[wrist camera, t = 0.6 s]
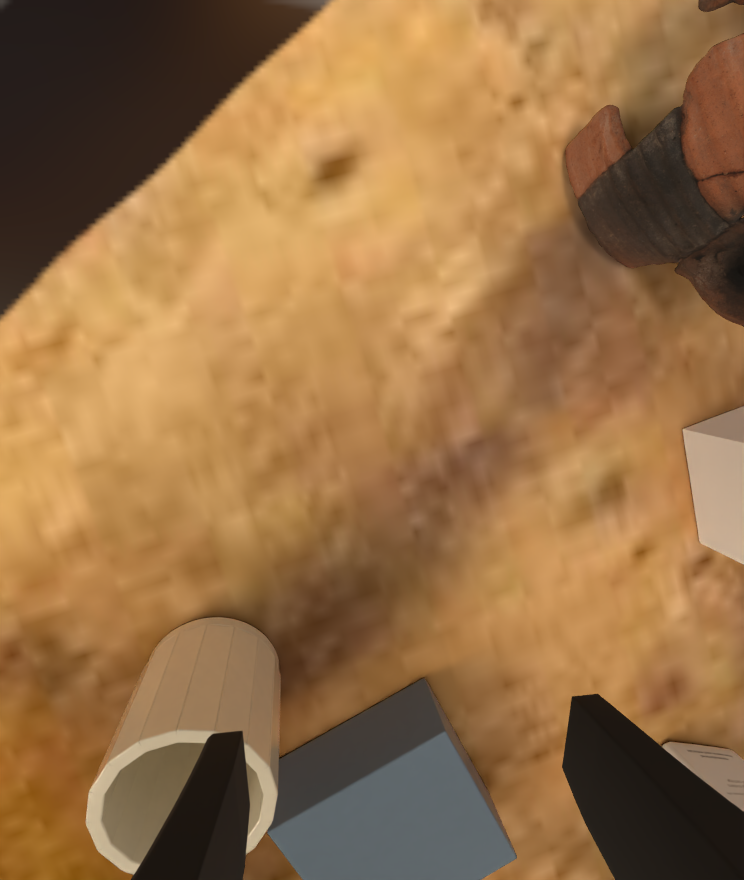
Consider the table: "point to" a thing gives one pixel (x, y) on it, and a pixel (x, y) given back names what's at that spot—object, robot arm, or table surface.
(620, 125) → the brown hollow looped part
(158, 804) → the cup
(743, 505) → the white cube
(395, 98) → the table surface
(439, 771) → the riser block
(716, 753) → the ink box
